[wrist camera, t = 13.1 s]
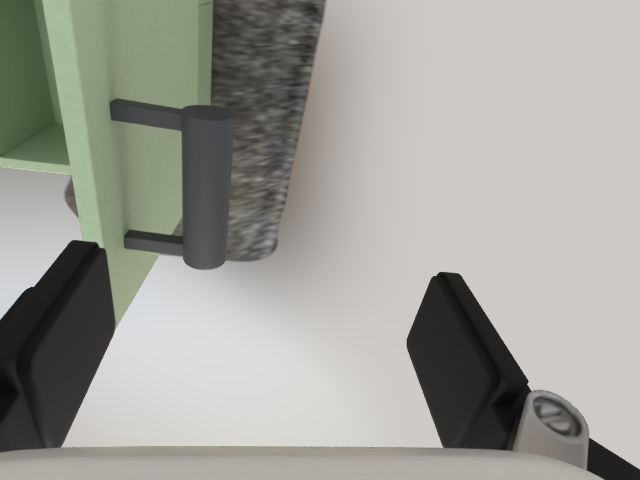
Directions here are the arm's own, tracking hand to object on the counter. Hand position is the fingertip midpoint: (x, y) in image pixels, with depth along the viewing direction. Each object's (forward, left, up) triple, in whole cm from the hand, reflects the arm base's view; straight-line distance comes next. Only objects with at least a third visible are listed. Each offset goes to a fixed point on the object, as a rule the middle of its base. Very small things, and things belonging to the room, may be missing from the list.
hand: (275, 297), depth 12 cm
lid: (-7, 0, -13) cm, 15 cm away
